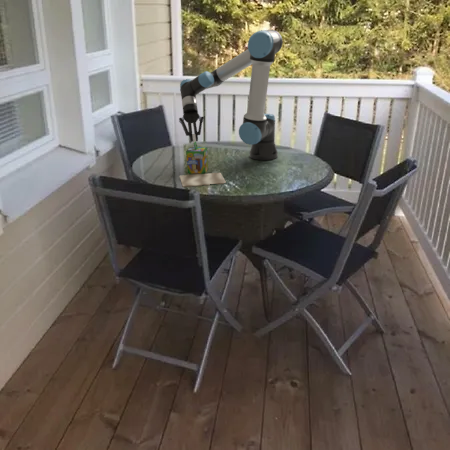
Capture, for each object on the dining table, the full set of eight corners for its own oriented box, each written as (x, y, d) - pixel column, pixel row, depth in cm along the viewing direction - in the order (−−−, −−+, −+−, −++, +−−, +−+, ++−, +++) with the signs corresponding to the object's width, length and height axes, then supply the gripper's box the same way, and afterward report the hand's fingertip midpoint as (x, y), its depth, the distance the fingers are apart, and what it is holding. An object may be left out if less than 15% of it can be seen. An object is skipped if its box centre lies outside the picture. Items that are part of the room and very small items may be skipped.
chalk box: (205, 174, 248) (204, 144, 242) (186, 174, 250) (185, 144, 244) (208, 169, 257) (207, 140, 251) (191, 168, 258) (189, 139, 252)
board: (220, 173, 249) (220, 172, 248) (226, 183, 234) (226, 182, 234) (179, 176, 246) (179, 175, 245) (182, 187, 231) (182, 185, 231)
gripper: (201, 110, 268) (207, 149, 260) (177, 112, 266) (181, 151, 258) (202, 102, 261) (208, 141, 253) (177, 103, 259) (182, 143, 251)
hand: (195, 146), depth 255 cm, fingers closed
